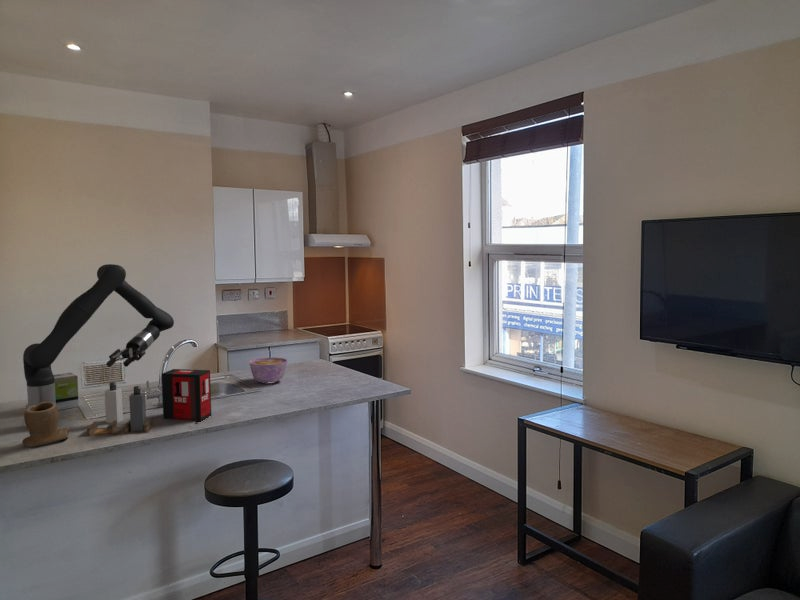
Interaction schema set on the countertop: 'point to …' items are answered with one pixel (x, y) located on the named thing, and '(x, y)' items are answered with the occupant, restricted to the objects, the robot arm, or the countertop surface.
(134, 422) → the grey square bottle
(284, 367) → the bowl of food
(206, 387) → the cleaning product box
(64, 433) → the stone cup
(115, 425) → the comb rack
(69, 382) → the tea box
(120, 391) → the white square bottle
